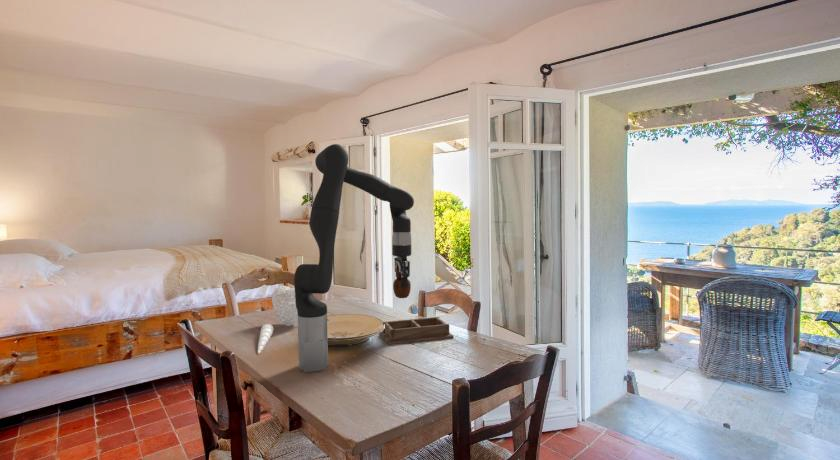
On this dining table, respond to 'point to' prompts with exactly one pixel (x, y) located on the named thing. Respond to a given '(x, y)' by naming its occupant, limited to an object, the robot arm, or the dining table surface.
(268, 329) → the unicorn horn
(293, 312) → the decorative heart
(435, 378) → the dining table surface
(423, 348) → the dining table surface
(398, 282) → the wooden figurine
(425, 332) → the brown divided wooden tray
